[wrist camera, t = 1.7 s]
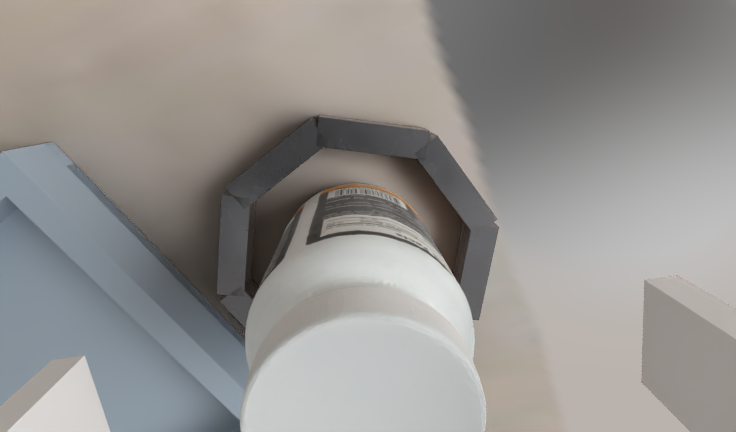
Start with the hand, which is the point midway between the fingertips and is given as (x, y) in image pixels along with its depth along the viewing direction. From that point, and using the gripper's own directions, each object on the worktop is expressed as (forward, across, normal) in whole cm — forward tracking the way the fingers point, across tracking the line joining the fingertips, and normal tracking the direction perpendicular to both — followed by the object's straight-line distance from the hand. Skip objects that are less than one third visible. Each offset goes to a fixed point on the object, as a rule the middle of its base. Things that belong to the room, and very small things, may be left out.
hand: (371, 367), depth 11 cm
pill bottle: (+8, 0, 0) cm, 8 cm away
